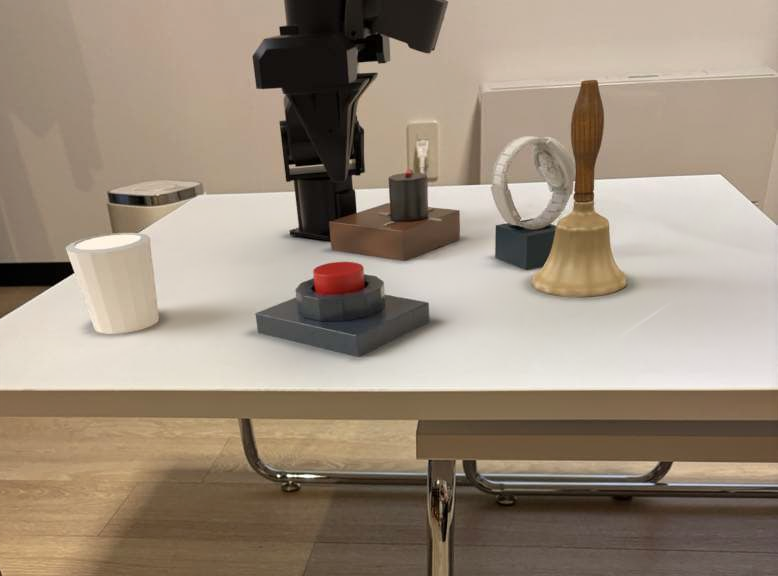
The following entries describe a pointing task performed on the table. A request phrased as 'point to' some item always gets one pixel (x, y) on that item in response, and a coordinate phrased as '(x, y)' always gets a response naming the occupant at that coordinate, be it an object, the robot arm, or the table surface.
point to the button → (339, 278)
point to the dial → (408, 196)
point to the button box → (343, 318)
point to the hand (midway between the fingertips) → (339, 180)
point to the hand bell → (582, 217)
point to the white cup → (116, 281)
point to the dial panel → (393, 233)
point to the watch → (535, 236)
